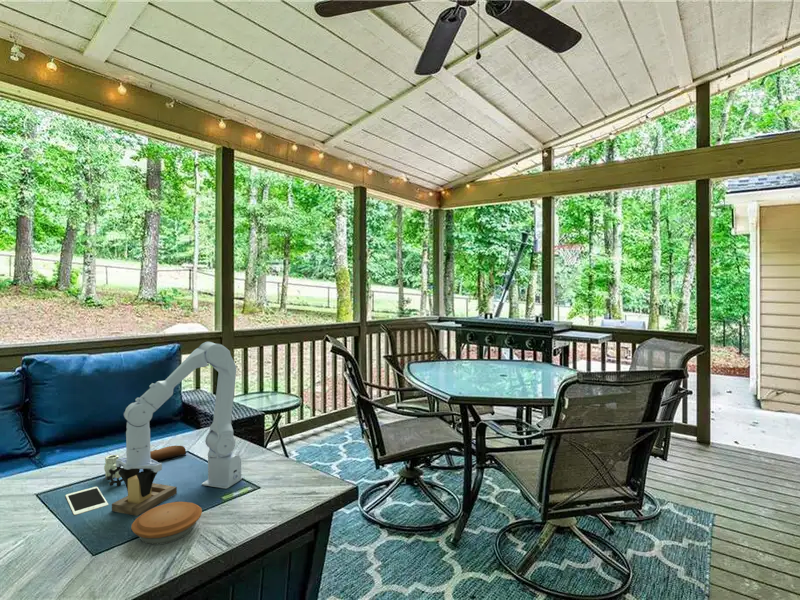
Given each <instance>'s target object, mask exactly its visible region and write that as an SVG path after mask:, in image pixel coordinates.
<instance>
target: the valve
mask: <svg viewBox="0 0 800 600" xmlns="http://www.w3.org/2000/svg"><path fill="white" fill-rule="evenodd" d="M119 457H120V456H119V455H118V454H111V455H108V456H106V457H105V458H104V461H105V464H104V467H103V470H104V473H105V480H106V481H110V482H109V483H108V485H109V486H110V487H112V486H114V484H115V485H116V487H120V486H121V485H122V482H124V481H123V479H122V477H121V476H120V475H119V471H120V470H122V469H123V467H122V466H120V467H116V460H117V459H120V458H119ZM115 478H116V480H115ZM120 478H121V479H120Z"/></svg>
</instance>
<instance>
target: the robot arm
mask: <svg viewBox="0 0 800 600" xmlns="http://www.w3.org/2000/svg"><path fill="white" fill-rule="evenodd" d="M208 364H209V365H210V366H211V367H212V368H213V369H214V370H215V371H217V372H218V375H217V381H216V382H217V386H216V391H215V402H214V409H213V410H214V412H213V420H212V423H211V424H210V426H209V431H208V433H207V434H206V437H205V440H204V441H205V445H206V447H207V448H208V452H207V480H205V481H204V482H202V483H201V485H202V486H206V487H207V486H208V487H213V488H219V489H225V490H226V489H229V488H230V487H232V486H234V485H235V484H236V483H238V482H239V481H241V480H242V479H244V476H242V458H241V456H240V455H237V454H235V453H234V452H233V451H234V449H235V448H236V440H235V437H234V429H233V426H232V416H233V406H234V398H235V397H234V396H235V389H236V388H235V387H236V376H237V365H236V363H235V361H234V359H233V357H232V355H231V350H229V349H228V348H227V347H226V346H224V345H223V344H221V343H214V342H213V341H205V342H203V343H201V344H200V345H199V346H198V347H197V348H195V349H194V350H193V351H192V352H191V353H190V354H189V355H188V356H187V357H186V358H185V359H184V360H183V361H182V362H181V364H179V365H178V366H177V367H176V369H174V370H173V371H172V372H171V373H170V374H169V376H167V378H165V380H158V381H156V382H155V383H153V382H151V384H150V385H149V388H148V389H147V390H146V391H144V393H143V394H142V395H140V397H136V398H135V402H131V403H130V404H128V406H126V407H125V411H124V412H123V417H124V419H125V420H126V431H125V437H126V439H125V440H126V441H125V444H126V445H125V446H126V447H125V448H126V457H120V458H119V459H117V460H116V467H120V466H121V467H122V468H123V469H122V470H120V471H119V475H120V476H121V477H120V478H121V479H123V481H122V482H123V483H124V484H125V488H126V490H127V491H126V492H128V478H130V477H133V476H135V475H136V476H137V477H138V480H139V482H140V488H141V495H142V497H145V496H147V495H149V494H150V491H151V487H152V483H154V480H155V478H156V476H157V474H158V473H159V472H160V471H163V464H162V463H163V462H158V461H155V460H153V459H151V458H150V451H151V427H150V421H151V420H152V419H153V415H154V413H155V412H156V411H157V410H158V409H159V408H161V407H162V405H164V403H166V402H167V401H168V400H169V399H170V398H171V397H172V396H173V395H174V389H175V388H176V387H177V386H178V385H179V384H180V383H181V382H182V381H183V380H184V379H186V378H187V377H188V376H189V375H190V374H191V373H193V371H195V370H196V369H199V368H204V367H208V366H209V365H208ZM140 470H142V471H140Z"/></svg>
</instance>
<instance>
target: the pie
mask: <svg viewBox="0 0 800 600" xmlns="http://www.w3.org/2000/svg"><path fill="white" fill-rule="evenodd" d="M202 513H203V509H202V507H201V506H199V505H198V504H196V503H194V502H189V501H172V502H168V503H164V504H158V505H156V506H154V507H152V508H150V509H149V510H147V511H145V512H143V513H142V514H140V515H138V516H137V517H136V518H135V520H134V521H133V522H132V523H131V530H132V532H133V534H135V535H136V536H137V537H138V538H139V539H140V540H141V541H142V542H143V543H145V544H147V545H164V544H168V543H169V544H170V543H171V542H175V541H178V540H179V539H182V538H184V537H185V536H187V535H189V534H190V533H191V532H192V530H193V528H194V526H195V525H196V523H197V522H198V521H199V519H200V518H201V517H202Z"/></svg>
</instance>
